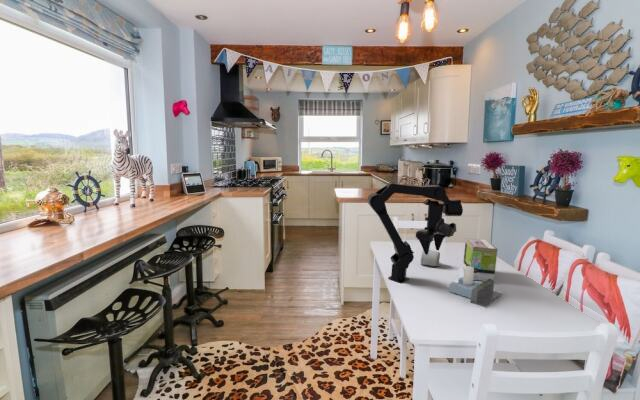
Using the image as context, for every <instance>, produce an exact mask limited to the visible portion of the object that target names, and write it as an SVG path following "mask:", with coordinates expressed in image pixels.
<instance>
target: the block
mask: <svg viewBox="0 0 640 400" xmlns="http://www.w3.org/2000/svg"><path fill="white" fill-rule="evenodd" d="M457 282H458V283H457ZM457 282H455V281H451V282H450V283H449V292H451V293H454V294H457V295H459V296H462V297H466V298H469V299H471V294H472V289H473V288H475V287H477V286H478V285H480V284H481V283H482V282H481V281H477V280H473V285H472V286H470V287H468V286H465V285H463V277H459V278H458V281H457Z"/></svg>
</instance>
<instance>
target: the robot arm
mask: <svg viewBox="0 0 640 400" xmlns="http://www.w3.org/2000/svg"><path fill="white" fill-rule="evenodd" d="M394 194H401V195H402V194H403V195H412V196H420V197H421V196H422V197H425V198H426V200H424V202H423V203H422V204H424V205H425V206H427V216H426V217H424V218H425V219H424V220H425V221H426V226H425V227H424V229H421V230H417V231H416V232H415V238H416V239H417V240H418V241H419V244H420V245H421V247H422V250H424V252H425V254H426V255H428V252H429V250H430V247H431V243H432V242H433V241H434V246H435V251H439V250H440V249H441V246H442V244H443V242H444V239H445V238H451V237H453V236H454V234H455V233H456V232H457V224H456V223H455V222H451V223H446V221H445V218H443V214H444V216H446V217H461V216H462V215H463V212H464V209H463V205H462V200H461V199H450V197H448V195H447V191H446V189H445V187H444V186H440V185H438V184H427V185H413V184H404V183H403V184H402V183H396V182H395V183H394V182H389V183H387V184H386V185H385V186H383V187H382V188H380V189H378V190H377V191H376V192H372V193H370V194H369V195H368V196H367V199H366V202H367V204H368V205H369V207H370V208H371V209H372V211H374V212H375V214H376V215H377V216H378V218H379V220H380V222H381V224H382V225H383V227H384V229H385V231H386V233H387V236H389V239H390V241H391V242H392V244H393V249H394V251H395V253H394V254H392V255H391V256H390V261H391V262H392V264H391V276H388V277H387V279H388V280H390V281H391V280H392V281H394V282H397V283H400V284H402V283H404V282H406V281H408V280H410V277H407V271H408V270H407V269H409V266H410V264H411V263H412V262H413V261H414V258H415V257H414V254H415V252H414V250H412V248H411V245H410V244H409V242H408V241H407V240H404V241H403V240H402V237H401V236H400V235H399V232H398V230H397V228H396V226H395V225H394V224H395V223H394V222H393V220H392V219H391V218H390V215H389V212H388V209H387V206H386V202H387V201H388V200H389V199H390V198H391V197H392V196H393V195H394Z"/></svg>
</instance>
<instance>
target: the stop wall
mask: <svg viewBox="0 0 640 400" xmlns="http://www.w3.org/2000/svg"><path fill="white" fill-rule="evenodd" d="M480 283H481V284H480V285H478V286H477V287H475V288H473V289H472V294H471V298H470V303H471V304H474V305H477V306H480V307H483V308H486V307H487V306H489V305H490V304H491V303H493V302H494V301H496V300H497V299H498V298H500V296H502V295H503V294H502V292H499V291H495V290H494V287H495V279H494V280H492V279H488V280H486V281H482V282H480Z"/></svg>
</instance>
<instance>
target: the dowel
mask: <svg viewBox="0 0 640 400" xmlns="http://www.w3.org/2000/svg"><path fill="white" fill-rule="evenodd" d="M473 274H474V268H473V267H470V266H465V267H464V269H463V277H462V278H463V285H465V286H468V287H470V286H472V285H473V281H474V280H473Z"/></svg>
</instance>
